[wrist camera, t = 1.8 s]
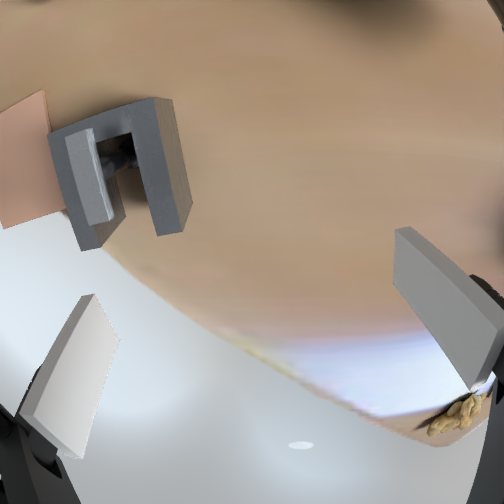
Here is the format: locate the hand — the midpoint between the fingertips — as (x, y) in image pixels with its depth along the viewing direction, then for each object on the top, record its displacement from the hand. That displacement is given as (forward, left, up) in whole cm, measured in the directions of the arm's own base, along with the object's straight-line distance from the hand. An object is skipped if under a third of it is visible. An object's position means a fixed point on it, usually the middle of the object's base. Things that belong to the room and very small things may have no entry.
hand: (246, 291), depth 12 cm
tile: (-8, -23, -17) cm, 30 cm away
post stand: (-5, -9, -17) cm, 20 cm away
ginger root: (+60, +45, -18) cm, 77 cm away
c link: (-4, -9, -17) cm, 20 cm away
